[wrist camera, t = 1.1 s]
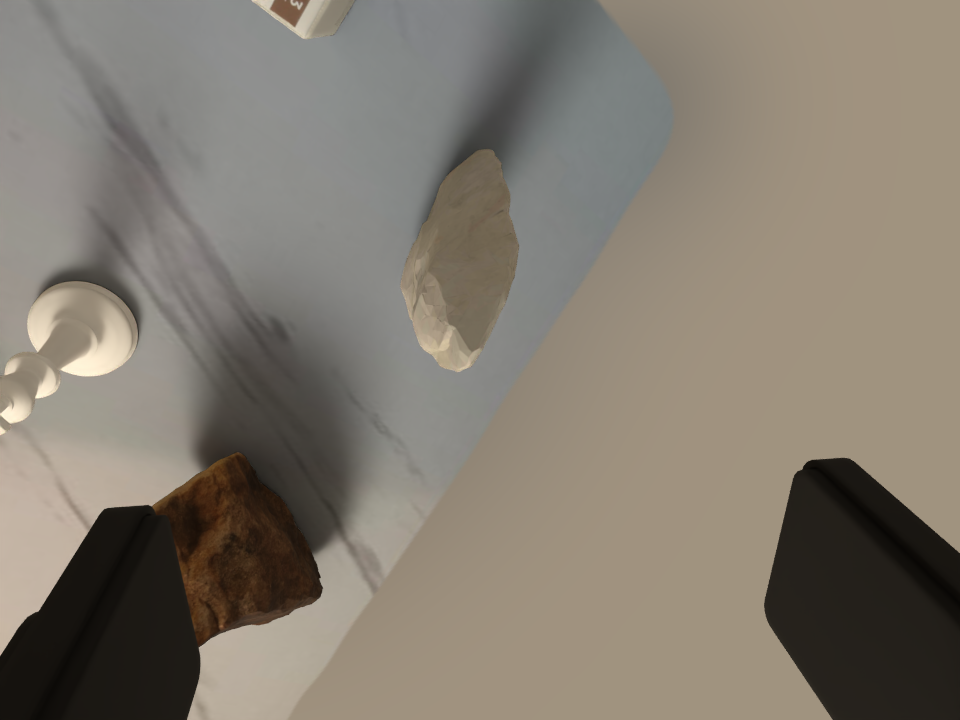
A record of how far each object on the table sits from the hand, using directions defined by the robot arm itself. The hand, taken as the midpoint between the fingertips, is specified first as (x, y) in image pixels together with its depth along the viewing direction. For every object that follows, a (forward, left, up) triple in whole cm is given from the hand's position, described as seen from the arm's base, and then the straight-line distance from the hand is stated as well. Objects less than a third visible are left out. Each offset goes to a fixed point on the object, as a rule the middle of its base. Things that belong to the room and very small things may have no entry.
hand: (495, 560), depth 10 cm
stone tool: (0, +1, -26) cm, 26 cm away
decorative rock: (+20, +6, -26) cm, 33 cm away
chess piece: (+17, -7, -26) cm, 32 cm away
